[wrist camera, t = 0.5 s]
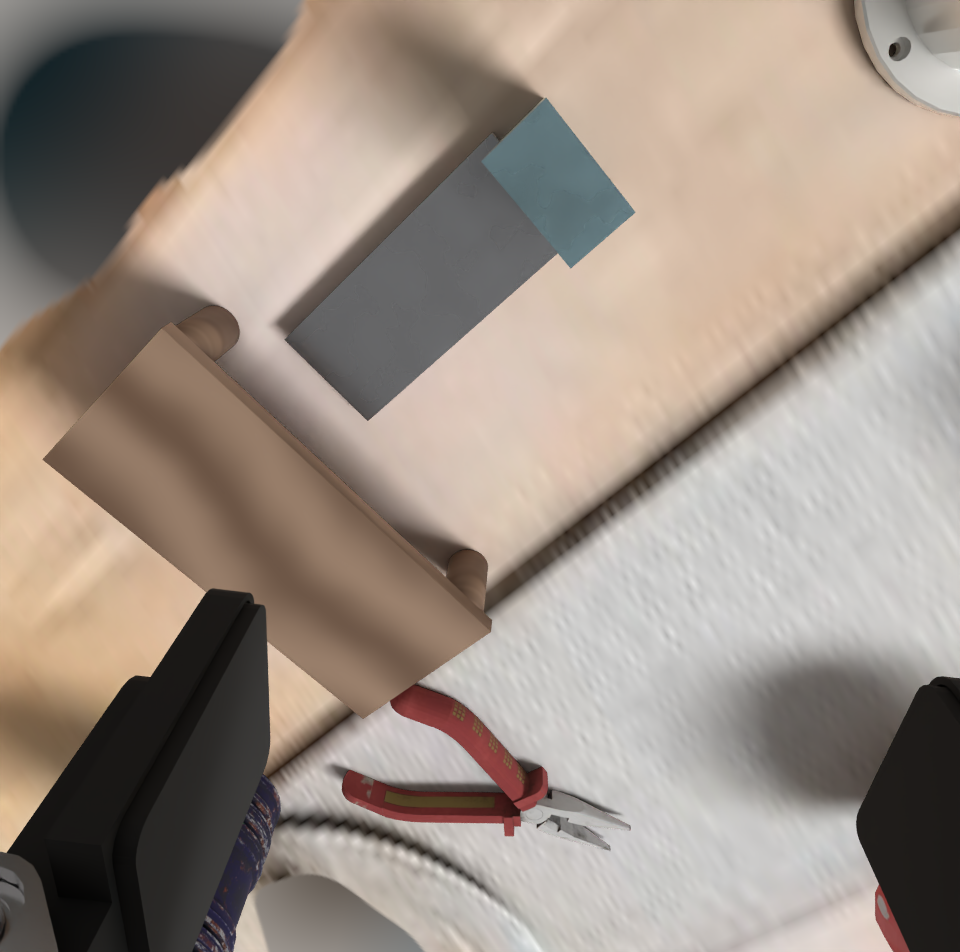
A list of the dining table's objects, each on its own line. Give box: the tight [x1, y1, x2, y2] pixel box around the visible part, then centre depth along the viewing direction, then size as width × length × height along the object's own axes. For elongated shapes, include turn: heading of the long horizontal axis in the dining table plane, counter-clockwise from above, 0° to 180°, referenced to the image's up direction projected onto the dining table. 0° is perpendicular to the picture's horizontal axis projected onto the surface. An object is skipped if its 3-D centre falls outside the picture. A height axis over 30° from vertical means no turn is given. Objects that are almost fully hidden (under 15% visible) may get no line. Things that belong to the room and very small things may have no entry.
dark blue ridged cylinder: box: [192, 774, 281, 952], centre depth 49 cm, size 10×10×15 cm
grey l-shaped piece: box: [284, 98, 635, 421], centre depth 33 cm, size 17×6×9 cm, turn 132°
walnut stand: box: [43, 306, 492, 719], centre depth 41 cm, size 10×22×6 cm, turn 42°
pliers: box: [342, 684, 631, 851], centre depth 52 cm, size 12×20×3 cm, turn 64°
